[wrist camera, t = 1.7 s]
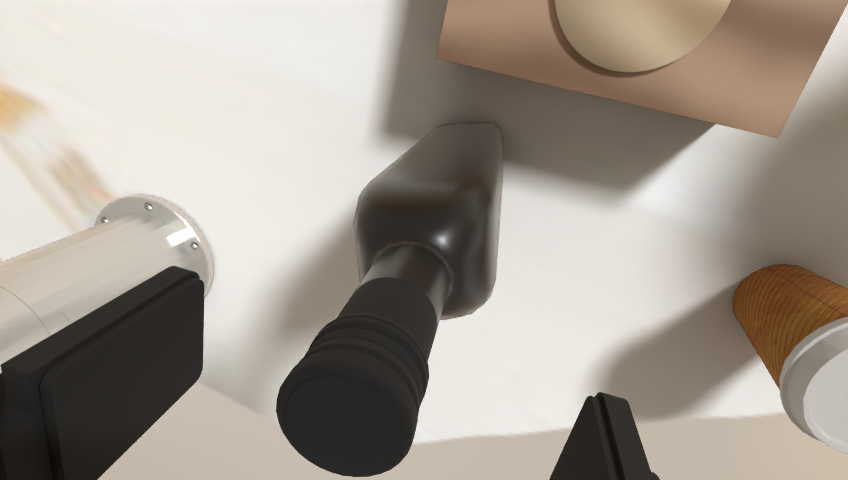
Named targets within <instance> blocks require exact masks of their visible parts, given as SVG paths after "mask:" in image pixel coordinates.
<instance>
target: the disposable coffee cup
mask: <svg viewBox="0 0 848 480" xmlns="http://www.w3.org/2000/svg"><path fill="white" fill-rule="evenodd" d="M733 311H734V313H735V316H736V318H737V319H738V321H739V322H740V324H741V326H742V327H743V329H744V331H745V332H746V334H747V336H748V337H749V339H750V341H751V343H752V345H753V346H754V348H755V349H756V351H757V353H758V354H759V356H760V357H761V359H762V361H763V363H764V364H765V366H766V368H767V369H768V371H769V373H770V374H771V376H772V378H773V380H774V381H775V383H776V385H777V386H778V388H779V390H780V397H781V400H782V404H783V407H784V409H785V411H786V413H787V415H788V416H789V418H790V419H791V421H792V422H793V423H794V424H795V425H796V426H797V427H798V428H800V429H801V430H802V431H803V432H805V433H806V434H808V435H809V436H811V437H812V438H815V439H817V440H820V441H822V442H823V443H825V444H826V445H827V446H829V447H831V448H833V449H835V450H837V451H840V452H843V453H846V454H848V289H847V288H844V287H842V286H841V285H838V284H836V283H834V282H831V281H830V280H827V279H825V278H823V277H820V276H818V275H816V274H814V273H812V272H810V271H807V270H806V269H804V268H801V267H798V266H793V265H774V266H769V267H766V268H763V269H760V270H758V271H756V272H754V273H753V274H751V275H750V276H749V277H747V278H746V279H745V280H744V281H743V282H742V283H741V284H740V286H739V287H738V289H737V290H736V293H735V295H734V298H733Z"/></svg>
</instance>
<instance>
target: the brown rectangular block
mask: <svg viewBox="0 0 848 480" xmlns="http://www.w3.org/2000/svg"><path fill="white" fill-rule="evenodd" d="M847 4H848V0H448V2H447V7H446V12H445V17H444V22H443V27H442V31H441V36H440V41H439V46H438V51H437V56H436V59H440V60H445V61H449V62H453V63H457V64H462V65H466V66H470V67H475V68H479V69H483V70H488V71H492V72H496V73H500V74H505V75H509V76H513V77H518V78H522V79H526V80H530V81H535V82H539V83H543V84H548V85H552V86H556V87H560V88H565V89H569V90H573V91H578V92H582V93H586V94H590V95H595V96H599V97H603V98H608V99H612V100H616V101H621V102H625V103H629V104H633V105H638V106H642V107H646V108H651V109H655V110H659V111H663V112H668V113H672V114H676V115H681V116H685V117H689V118H693V119H698V120H702V121H706V122H711V123H715V124H719V125H723V126H728V127H732V128H736V129H741V130H745V131H749V132H754V133H758V134H762V135H766V136H771V137H775V138H778V137H779V135H780V134H781V132H782V130H783V128H784V126H785V124H786V122H787V120H788V118H789V116H790V114H791V112H792V110H793V108H794V106H795V104H796V103H797V101H798V99H799V97H800V95H801V93H802V91H803V89H804V87H805V85H806V83H807V81H808V79H809V77H810V75H811V73H812V71H813V70H814V68H815V66H816V64H817V62H818V60H819V58H820V56H821V54H822V52H823V50H824V48H825V46H826V44H827V42H828V40H829V38H830V37H831V35H832V33H833V31H834V29H835V27H836V25H837V23H838V21H839V19H840V17H841V15H842V13H843V11H844V9H845V7H846V6H847Z"/></svg>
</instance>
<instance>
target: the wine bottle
mask: <svg viewBox="0 0 848 480" xmlns="http://www.w3.org/2000/svg"><path fill="white" fill-rule="evenodd" d="M502 183H503V139H502V133H501V130H500V129H499V128H498V127H497V126H496V125H495V124H491V123H470V124H449V125H442V126H439V127H437V128H435V129H434V130H433V131H432V132H430V133H429V134H428V135H427V136H426V137H424V138H423V139H422V140H421V141H419V142H418V143H417V144H416V145H415V146H413V147H412V148H411V149H410V150H408V151H407V152H406V153H405V154H403V155H402V156H401V157H400V158H399V159H397V160H396V161H395V162H394V163H392V164H391V165H390V166H389V167H387V168H386V169H385V170H384V171H383V172H381V173H380V174H379V175H378V176H376V177H375V178H374V179H373V180H372V181H370V182H369V184H368V185H367V186H366V187H365V188H364V190H363V191H362V192H361V194H360V196H359V198H358V204H357V208H356V213H355V217H354V221H353V226H354V235H355V244H356V252H357V261H358V270H359V278H360V285H359V286H358V288H357V289H356V291H355V292H354V294H353V295H352V297H351V298H350V299H349V301H348V302H347V304H346V305H345V307H344V308H343V310H342V311H341V313H340V314H339V316H338V317H337V318H336V319H335V320H333V321H332V322H330V323H328V324H327V325H326V326H325V327H324V328H323V329H322V330H321V331H320V332H319V333H318V335H317V336H316V337H315V339H314V341H313V342H312V344H311V345H310V348H309V350H308V351H307V353H306V355H305V357H304V358H303V359H302V360H300V362H299V363H298V364H297V365H296V366H295V367H294V368H293V369H292V371H291V372H290V373H289V375H288V376H287V378H286V379H285V381H284V382H283V384H282V385H281V387H280V390H279V394H278V397H277V405H276V412H277V417H278V421H279V424H280V426H281V429H282V431H283V433H284V435H285V436H286V438H287V439H288V441H289V442H290V444H291V445H292V446H293V447H294V448H295V449H296V450H297V451H298V453H300V454H301V455H302V456H303V457H304V458H306V459H307V460H308V461H310V462H312V463H313V464H315V465H316V466H318V467H320V468H322V469H325V470H327V471H330V472H332V473H336V474H340V475H343V476H352V477H368V476H373V475H377V474H381V473H383V472H386V471H388V470H391V469H392V468H393V467H395V466H396V465H397V464H399V463H400V462H401V461H402V459H403V458H404V457H405V456H406V455H407V453H408V451H409V449H410V447H411V445H412V442H413V438H414V434H415V431H416V426H417V421H418V418H417V417H418V412H419V407H420V405H421V402H422V400H423V398H424V395H425V392H426V388H427V384H428V379H429V369H428V362H427V361H428V358H429V354H430V351H431V348H432V344H433V341H434V337H435V334H436V330H437V327H438V324H439V320H446V319H451V318H457V317H461V316H465V315H469V314H472V313H473V312H475V311H476V310H477V309H478V308H480V307H481V306H482V305H483V304H485V302H486V301H487V300H488V299H489V298H490V296H491V293H492V291H493V288H494V284H495V281H496V270H497V256H498V241H499V227H500V212H501V198H502Z"/></svg>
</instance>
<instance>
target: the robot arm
mask: <svg viewBox="0 0 848 480" xmlns="http://www.w3.org/2000/svg"><path fill="white" fill-rule="evenodd" d="M213 277H214V264H213V258H212V253H211V250H210V247H209V245H208V242H207V240H206V239H205V237H204V235H203V233H202V232H201V230H200V229H199V227H198V226H197V225H196V223H195V222H194V221H193V220H192V219H191V218H190V217H189V216H188V215H187V214H186V213H185V212H183V211H182V210H181V209H179V208H178V207H177V206H175V205H173V204H172V203H170V202H168V201H166V200H164V199H161V198H158V197H155V196H151V195H143V194H138V195H129V196H126V197H123V198H119V199H117V200H115V201H113V202H111V203H109V204H108V205H107V206H106V207H105V208H104V209H103V210H102V211H101V212H100V214H99V215H98V217H97V220H96V223H95V226H94V227H92V228H89V229H86V230H84V231H81V232H78V233H76V234H73V235H71V236H68V237H65V238H63V239H60V240H58V241H55V242H52V243H50V244H47V245H45V246H42V247H39V248H37V249H34V250H31V251H29V252H26V253H24V254H21V255H18V256H16V257H13V258H11V259H8V260H5V261H3V262H0V480H97V479H98V478H99V477H100V476H101V475H102V474H103V473H104V472H105V471H106V470H107V469H108V468H109V467H110V466H111V465H112V464H113V463H114V462H115V461H116V460H117V459H118V458H119V457H121V456H122V455H123V454H124V452H126V451H127V450H128V449H129V448H130V446H132V444H134V443H135V442H136V441H137V440H138V439H139V438H140V437H141V436H142V435H143V434H144V433H145V432H146V431H147V430H148V429H149V428H150V427H151V426H152V425H153V424H154V423H155V422H156V421H157V420H158V419H159V418H160V417H161V416H162V415H163V414H164V413H165V412H166V411H167V410H168V409H169V408H170V407H171V406H172V405H173V404H174V403H175V402H176V401H177V400H178V399H179V398H180V397H181V396H182V395H183V394H184V393H185V392H186V391H187V390H188V389H189V388H190V387H191V386H192V385H193V384H194V383H195V382H196V381H197V380H198V378H199V377H200V375H201V372H202V368H203V328H204V297H205V296H206V295H207V293H208V291H209V289H210V287H211V285H212V281H213ZM550 480H660V479H659V477H658V476H657V475H656V474H655V473H653V472H651V471H650V468H649V465H648V461H647V458H646V455H645V452H644V449H643V446H642V443H641V440H640V437H639V434H638V431H637V428H636V425H635V422H634V418H633V415H632V412H631V409H630V406H629V404H628V402H627V400H625V399H622V398H619V397H616V396H612V395H609V394H605V393H602V392H599V393H598V394H597V395H596V396H595V397H592V396H588V397H587V399H586V400H585V402H584V405H583V407H582V409H581V411H580V413H579V416H578V418H577V420H576V422H575V424H574V427H573V429H572V431H571V433H570V436H569V438H568V440H567V442H566V444H565V446H564V449H563V451H562V453H561V455H560V457H559V460H558V462H557V464H556V466H555V468H554V470H553V473H552V475H551V477H550Z"/></svg>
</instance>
